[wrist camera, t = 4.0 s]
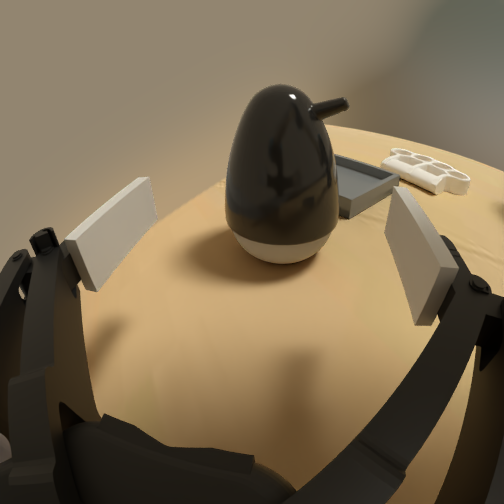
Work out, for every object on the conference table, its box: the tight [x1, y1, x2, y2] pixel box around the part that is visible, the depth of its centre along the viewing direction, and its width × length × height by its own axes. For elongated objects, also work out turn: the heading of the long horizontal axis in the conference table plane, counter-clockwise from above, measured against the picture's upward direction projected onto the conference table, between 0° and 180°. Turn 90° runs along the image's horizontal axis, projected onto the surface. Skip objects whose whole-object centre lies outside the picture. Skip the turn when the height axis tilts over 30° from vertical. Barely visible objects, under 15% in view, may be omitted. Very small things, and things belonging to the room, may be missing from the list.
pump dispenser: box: [225, 84, 349, 264], centre depth 23 cm, size 10×10×15 cm
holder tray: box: [334, 154, 400, 219], centre depth 39 cm, size 15×15×2 cm
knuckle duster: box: [381, 148, 470, 195], centre depth 44 cm, size 3×18×15 cm
